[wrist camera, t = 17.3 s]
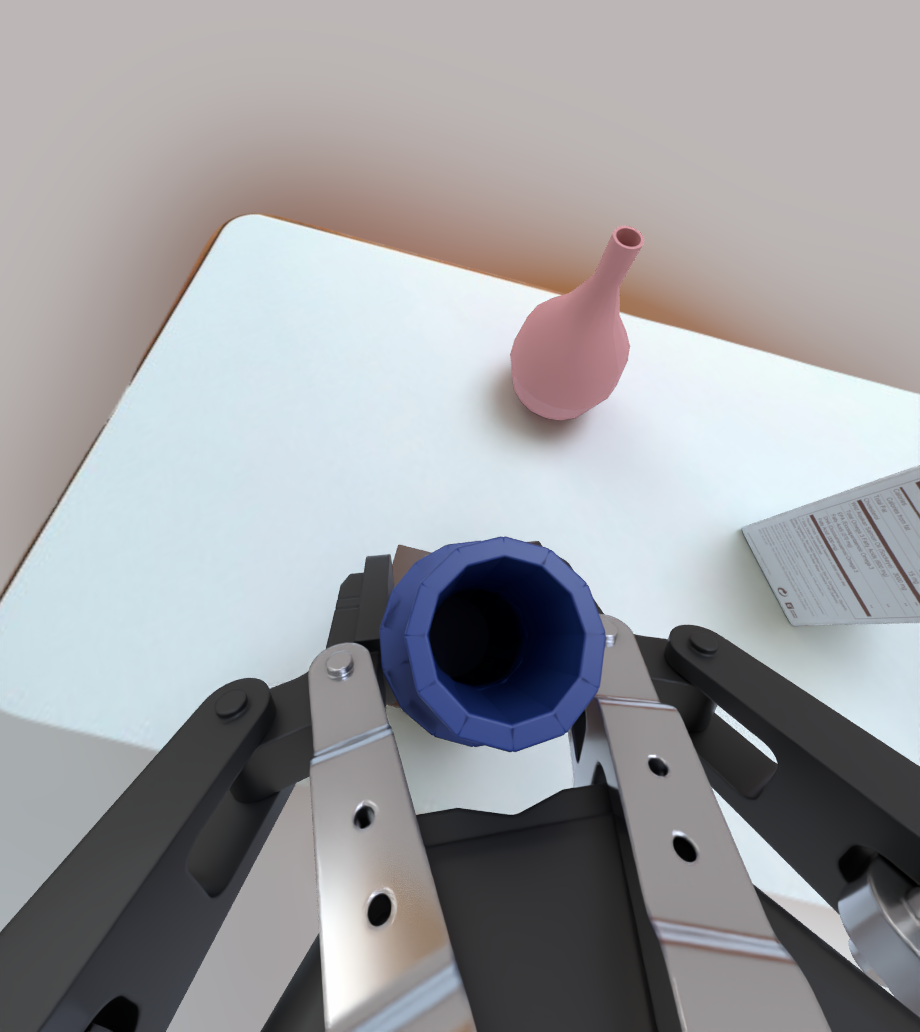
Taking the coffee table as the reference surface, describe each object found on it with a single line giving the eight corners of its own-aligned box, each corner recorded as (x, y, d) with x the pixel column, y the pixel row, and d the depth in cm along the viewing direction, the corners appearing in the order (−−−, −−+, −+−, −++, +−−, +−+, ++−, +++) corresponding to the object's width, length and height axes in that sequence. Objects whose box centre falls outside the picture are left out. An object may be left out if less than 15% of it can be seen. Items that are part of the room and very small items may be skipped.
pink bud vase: (534, 337, 31) (598, 161, 19) (613, 387, 30) (729, 233, 18) (481, 399, 28) (518, 241, 17) (565, 455, 27) (664, 327, 16)
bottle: (395, 669, 16) (299, 768, 4) (421, 582, 18) (405, 461, 5) (481, 693, 16) (641, 861, 4) (501, 604, 18) (667, 532, 5)
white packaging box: (817, 502, 28) (1109, 403, 16) (873, 598, 26) (1256, 568, 14) (735, 526, 27) (984, 438, 15) (787, 628, 25) (1126, 623, 13)
